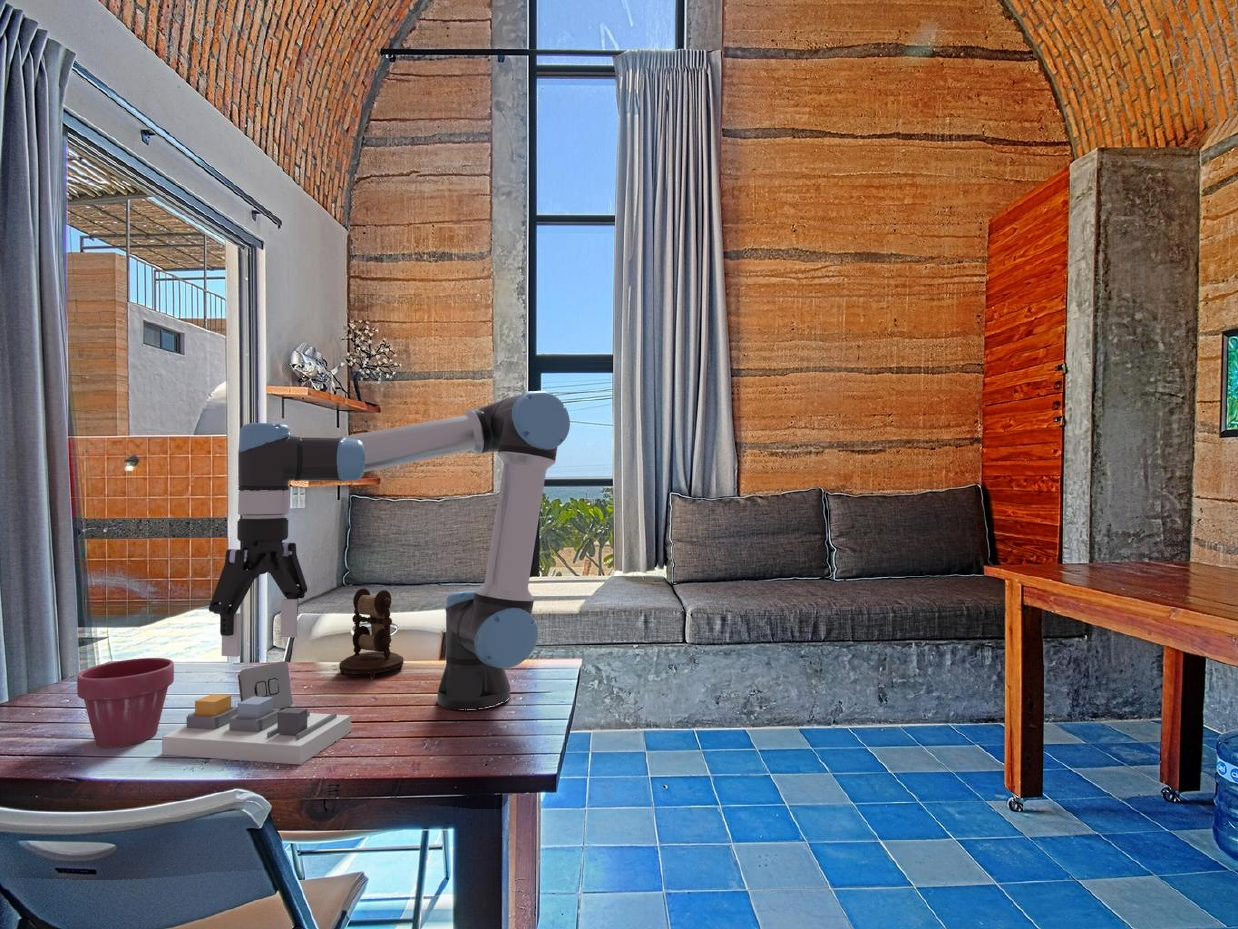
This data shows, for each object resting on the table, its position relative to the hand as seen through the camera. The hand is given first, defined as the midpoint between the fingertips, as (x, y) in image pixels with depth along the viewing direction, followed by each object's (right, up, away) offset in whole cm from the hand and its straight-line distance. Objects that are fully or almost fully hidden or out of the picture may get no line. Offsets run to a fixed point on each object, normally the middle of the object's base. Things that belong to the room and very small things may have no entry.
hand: (261, 646), depth 114 cm
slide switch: (+3, -16, +5) cm, 17 cm away
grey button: (-6, -15, +9) cm, 18 cm away
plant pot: (-30, -20, +11) cm, 38 cm away
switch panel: (-5, -19, +9) cm, 22 cm away
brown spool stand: (-1, -21, +55) cm, 59 cm away
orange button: (-14, -15, +10) cm, 23 cm away
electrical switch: (-13, -20, +26) cm, 36 cm away
